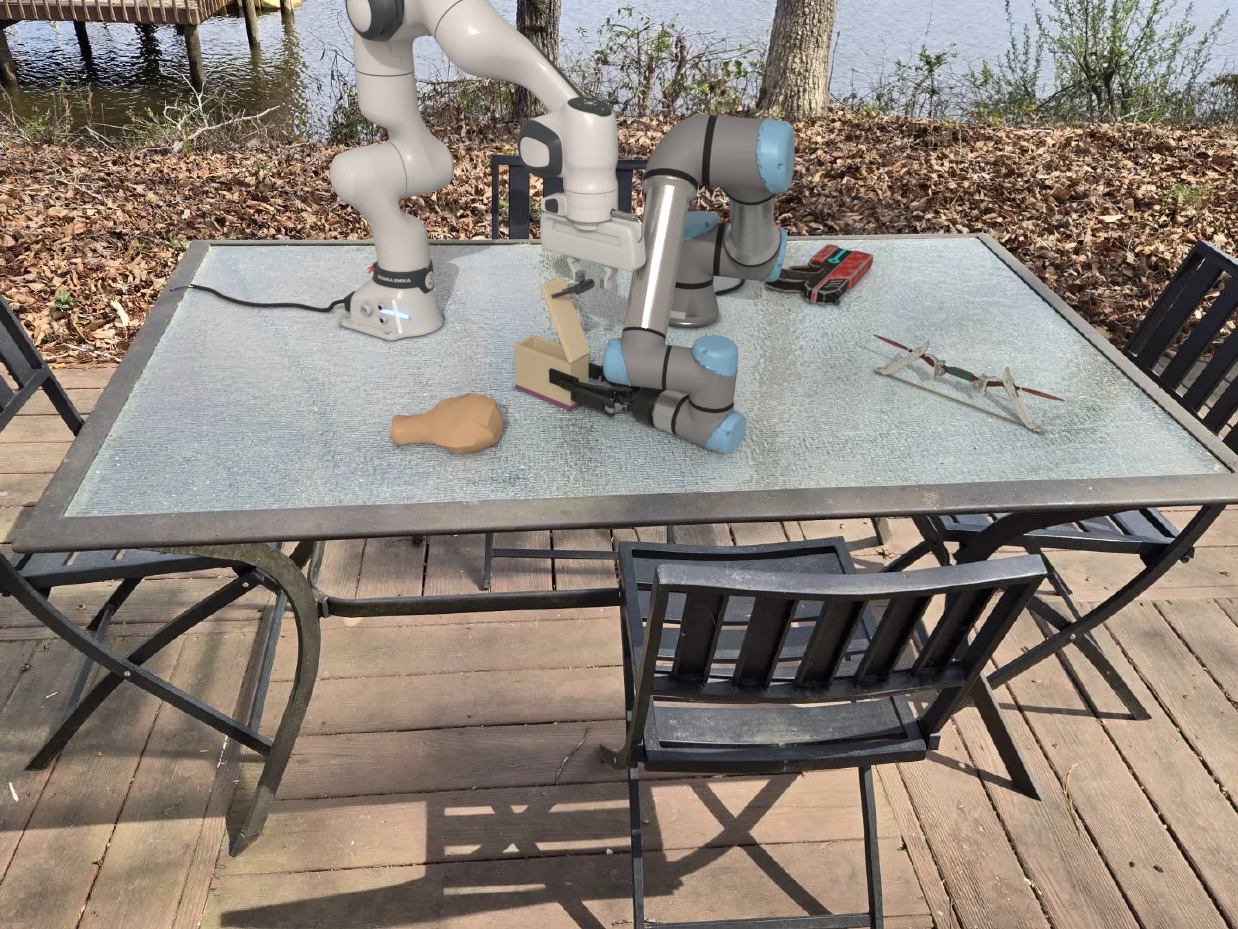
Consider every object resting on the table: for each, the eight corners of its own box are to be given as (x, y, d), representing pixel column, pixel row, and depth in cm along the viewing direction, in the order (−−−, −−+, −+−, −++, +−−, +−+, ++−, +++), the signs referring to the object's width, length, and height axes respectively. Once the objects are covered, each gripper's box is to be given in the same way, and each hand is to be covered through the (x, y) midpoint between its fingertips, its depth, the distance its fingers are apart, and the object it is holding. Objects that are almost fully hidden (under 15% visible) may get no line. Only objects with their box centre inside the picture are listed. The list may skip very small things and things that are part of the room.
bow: (1054, 434, 162) (1071, 386, 157) (1051, 438, 161) (1067, 390, 156) (868, 365, 184) (877, 321, 178) (864, 368, 183) (873, 324, 177)
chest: (515, 388, 172) (513, 344, 167) (534, 378, 176) (532, 334, 171) (570, 410, 166) (570, 365, 160) (588, 399, 169) (588, 354, 164)
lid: (539, 285, 156) (572, 276, 150) (558, 276, 160) (592, 267, 154) (568, 363, 160) (602, 356, 155) (586, 352, 164) (620, 345, 158)
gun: (761, 274, 213) (838, 293, 205) (807, 236, 235) (878, 252, 227) (759, 291, 216) (834, 311, 208) (805, 252, 238) (874, 269, 230)
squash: (504, 461, 151) (494, 421, 145) (391, 469, 152) (376, 431, 146) (510, 420, 159) (501, 381, 152) (403, 428, 160) (389, 390, 154)
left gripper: (654, 211, 142) (652, 292, 149) (556, 190, 152) (559, 267, 159) (631, 220, 137) (630, 303, 145) (532, 198, 148) (536, 277, 155)
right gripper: (631, 447, 151) (529, 405, 162) (688, 405, 163) (590, 369, 175) (632, 409, 147) (527, 369, 158) (691, 369, 159) (590, 334, 170)
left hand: (592, 284), depth 152 cm, fingers open, 4 cm apart
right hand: (561, 369), depth 166 cm, fingers closed on chest, 5 cm apart
